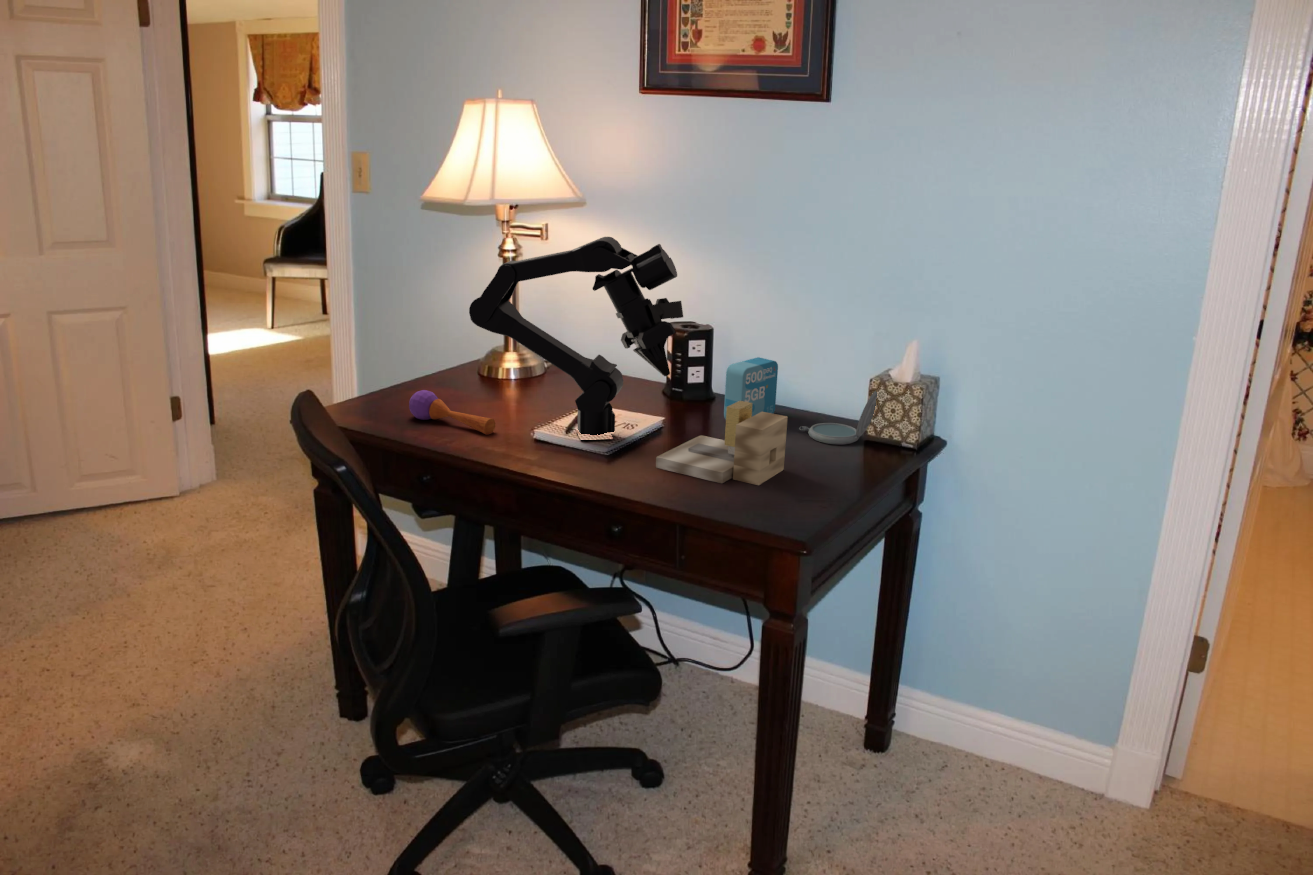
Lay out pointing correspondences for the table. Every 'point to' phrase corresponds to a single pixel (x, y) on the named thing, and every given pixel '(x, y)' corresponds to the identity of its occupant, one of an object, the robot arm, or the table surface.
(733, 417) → the bolt
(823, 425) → the pocket watch
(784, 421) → the door and jamb
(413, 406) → the purple maraca
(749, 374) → the data package
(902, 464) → the table surface
